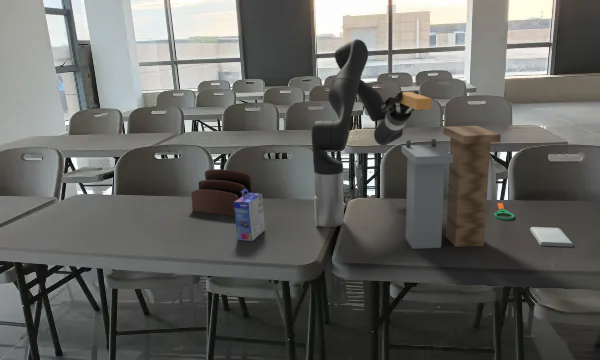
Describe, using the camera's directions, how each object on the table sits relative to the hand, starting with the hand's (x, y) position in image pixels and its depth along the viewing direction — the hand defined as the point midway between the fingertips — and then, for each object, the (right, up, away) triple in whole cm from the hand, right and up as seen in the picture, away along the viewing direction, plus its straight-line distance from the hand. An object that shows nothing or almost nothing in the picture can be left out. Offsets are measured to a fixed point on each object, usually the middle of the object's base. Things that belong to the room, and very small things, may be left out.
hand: (409, 94), depth 149 cm
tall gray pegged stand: (+2, -44, -9) cm, 45 cm away
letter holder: (-61, -37, +27) cm, 77 cm away
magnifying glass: (+34, -38, +14) cm, 53 cm away
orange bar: (0, -4, -4) cm, 6 cm away
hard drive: (+39, -44, -8) cm, 59 cm away
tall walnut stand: (+14, -44, -9) cm, 47 cm away
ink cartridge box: (-48, -43, +2) cm, 65 cm away
